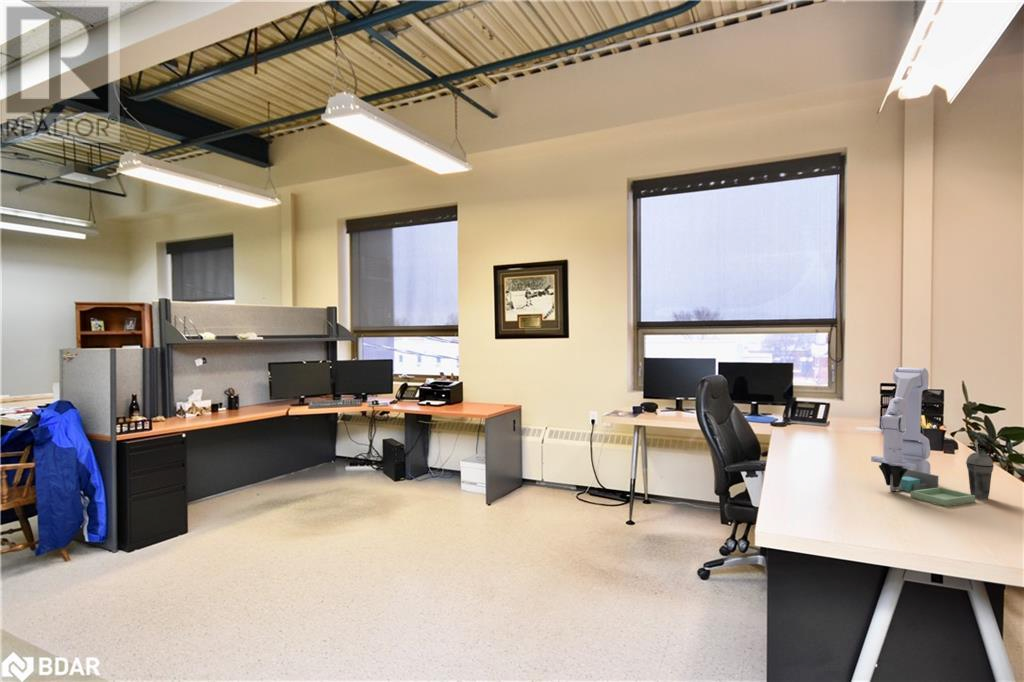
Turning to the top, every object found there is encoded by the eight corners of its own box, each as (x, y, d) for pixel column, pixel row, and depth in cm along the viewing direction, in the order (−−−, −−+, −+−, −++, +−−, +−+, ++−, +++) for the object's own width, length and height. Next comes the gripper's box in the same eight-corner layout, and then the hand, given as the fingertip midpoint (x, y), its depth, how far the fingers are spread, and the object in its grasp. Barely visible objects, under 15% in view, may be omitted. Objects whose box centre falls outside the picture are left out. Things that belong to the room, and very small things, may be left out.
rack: (900, 483, 199) (900, 467, 199) (938, 492, 187) (938, 475, 187) (886, 485, 197) (886, 469, 197) (923, 494, 184) (923, 477, 184)
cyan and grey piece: (907, 487, 194) (907, 470, 194) (920, 490, 190) (920, 473, 190) (885, 489, 190) (885, 473, 190) (897, 493, 186) (897, 476, 186)
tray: (940, 493, 186) (940, 487, 186) (975, 502, 176) (975, 495, 176) (910, 497, 181) (910, 491, 181) (944, 506, 171) (944, 499, 171)
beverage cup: (999, 501, 177) (999, 442, 177) (974, 500, 179) (974, 441, 179) (984, 495, 184) (984, 438, 184) (960, 494, 186) (961, 437, 186)
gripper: (865, 444, 194) (865, 481, 194) (906, 452, 180) (906, 492, 180) (878, 443, 196) (878, 480, 196) (920, 451, 183) (920, 490, 183)
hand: (892, 485), depth 188 cm, fingers closed on cyan and grey piece, 2 cm apart
